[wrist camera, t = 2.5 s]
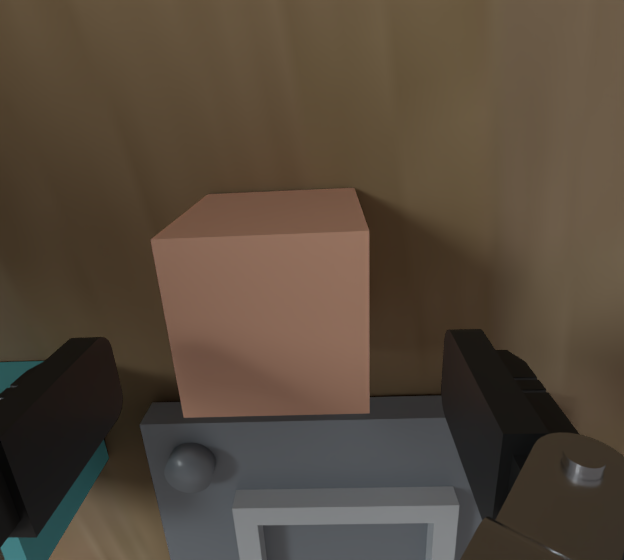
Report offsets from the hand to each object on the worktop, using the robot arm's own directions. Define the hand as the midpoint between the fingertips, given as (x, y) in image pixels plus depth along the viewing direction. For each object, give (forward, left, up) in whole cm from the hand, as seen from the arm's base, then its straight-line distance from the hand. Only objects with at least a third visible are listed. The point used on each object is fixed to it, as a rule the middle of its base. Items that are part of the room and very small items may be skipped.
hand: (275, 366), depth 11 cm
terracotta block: (0, 0, -8) cm, 8 cm away
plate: (+2, -15, -8) cm, 17 cm away
